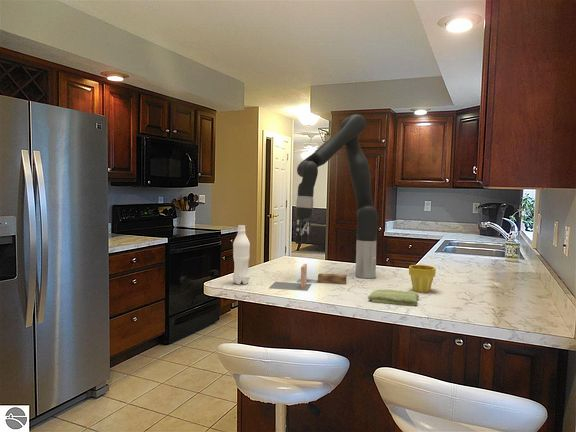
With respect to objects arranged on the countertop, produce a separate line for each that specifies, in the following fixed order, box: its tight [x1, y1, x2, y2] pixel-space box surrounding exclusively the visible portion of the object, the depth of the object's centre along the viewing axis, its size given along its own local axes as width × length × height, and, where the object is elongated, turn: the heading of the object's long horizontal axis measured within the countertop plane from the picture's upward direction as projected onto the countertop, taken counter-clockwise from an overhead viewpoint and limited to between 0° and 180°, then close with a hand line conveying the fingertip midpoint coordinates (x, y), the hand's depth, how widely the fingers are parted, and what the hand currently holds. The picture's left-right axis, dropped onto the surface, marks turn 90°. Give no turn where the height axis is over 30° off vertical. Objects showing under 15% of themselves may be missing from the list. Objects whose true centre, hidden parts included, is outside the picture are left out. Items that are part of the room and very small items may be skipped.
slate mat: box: [268, 281, 313, 292], centre depth 175 cm, size 16×12×1 cm
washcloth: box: [367, 289, 420, 307], centre depth 158 cm, size 13×18×3 cm
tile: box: [300, 263, 308, 289], centre depth 174 cm, size 1×7×9 cm, turn 168°
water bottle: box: [232, 224, 251, 285], centre depth 180 cm, size 7×7×25 cm
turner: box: [296, 273, 347, 285], centre depth 183 cm, size 21×6×4 cm, turn 79°
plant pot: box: [408, 264, 437, 293], centre depth 173 cm, size 10×10×10 cm
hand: (301, 243), depth 187 cm, fingers open, 8 cm apart
